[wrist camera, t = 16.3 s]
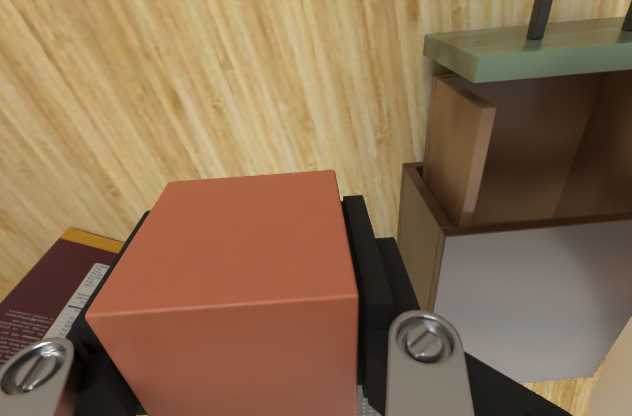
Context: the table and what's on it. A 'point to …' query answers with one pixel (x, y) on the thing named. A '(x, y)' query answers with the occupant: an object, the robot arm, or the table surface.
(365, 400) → the model
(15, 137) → the table surface
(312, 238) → the block
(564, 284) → the cabinet
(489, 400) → the robot arm
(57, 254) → the supplement box
